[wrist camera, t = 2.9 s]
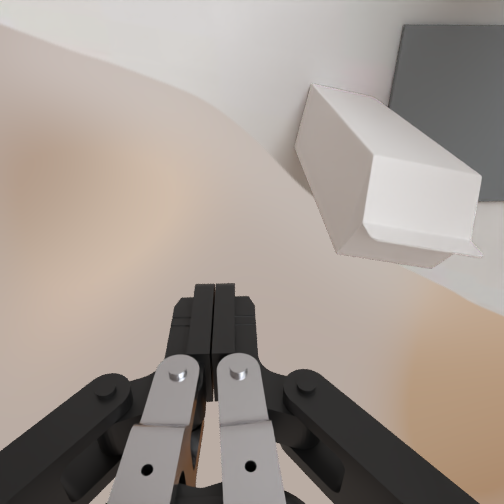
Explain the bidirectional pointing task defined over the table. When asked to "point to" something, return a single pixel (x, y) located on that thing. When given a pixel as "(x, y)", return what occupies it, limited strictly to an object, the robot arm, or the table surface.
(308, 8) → the table surface
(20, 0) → the table surface
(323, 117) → the milk
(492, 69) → the mat
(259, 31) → the table surface
